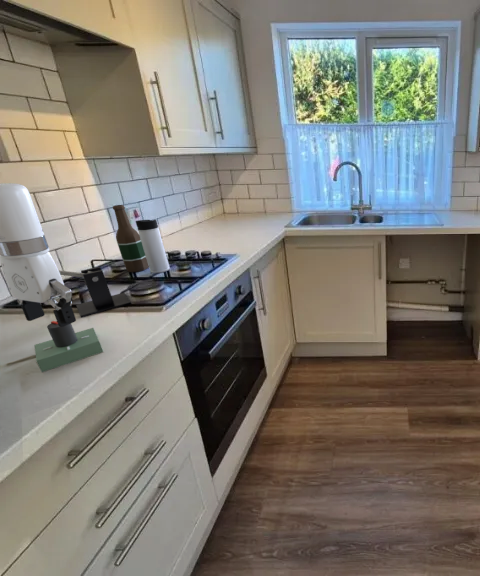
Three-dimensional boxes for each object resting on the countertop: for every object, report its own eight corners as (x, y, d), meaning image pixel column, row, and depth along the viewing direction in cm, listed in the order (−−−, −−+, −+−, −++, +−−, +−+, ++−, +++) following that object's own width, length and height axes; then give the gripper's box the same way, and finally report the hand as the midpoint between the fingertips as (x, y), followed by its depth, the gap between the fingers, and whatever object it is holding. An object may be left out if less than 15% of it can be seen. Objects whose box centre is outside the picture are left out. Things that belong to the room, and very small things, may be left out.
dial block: (41, 372, 78) (35, 360, 77) (39, 355, 84) (34, 344, 83) (103, 351, 85) (98, 340, 83) (97, 337, 91) (93, 326, 89)
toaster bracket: (82, 320, 99) (66, 281, 95) (77, 309, 106) (62, 271, 101) (132, 306, 107) (120, 269, 102) (125, 296, 114) (113, 261, 109)
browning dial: (81, 339, 84) (73, 319, 82) (63, 348, 81) (54, 328, 79) (69, 337, 85) (61, 317, 83) (51, 346, 82) (41, 325, 80)
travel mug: (146, 275, 131) (129, 221, 123) (159, 269, 137) (143, 216, 129) (162, 276, 130) (146, 221, 122) (174, 269, 136) (159, 216, 128)
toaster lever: (48, 278, 94) (49, 269, 93) (46, 272, 98) (48, 264, 97) (100, 284, 102) (102, 275, 101) (97, 278, 106) (99, 270, 106)
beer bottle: (154, 266, 139) (136, 204, 129) (134, 273, 133) (113, 208, 123) (141, 264, 142) (122, 203, 133) (121, 271, 136) (99, 206, 126)
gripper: (-29, 247, 73) (4, 323, 79) (32, 255, 68) (62, 334, 75) (15, 239, 79) (43, 309, 86) (73, 245, 75) (97, 318, 81)
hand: (51, 321), depth 80 cm, fingers open, 9 cm apart
